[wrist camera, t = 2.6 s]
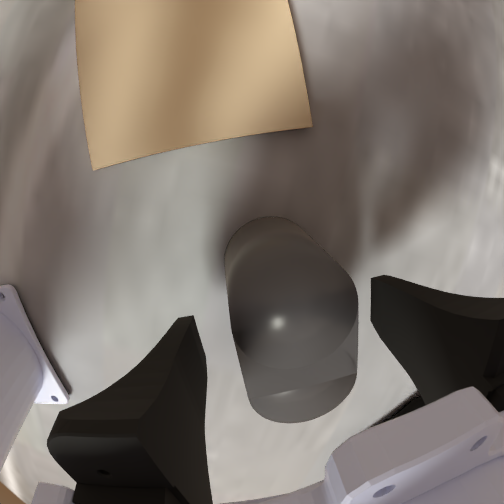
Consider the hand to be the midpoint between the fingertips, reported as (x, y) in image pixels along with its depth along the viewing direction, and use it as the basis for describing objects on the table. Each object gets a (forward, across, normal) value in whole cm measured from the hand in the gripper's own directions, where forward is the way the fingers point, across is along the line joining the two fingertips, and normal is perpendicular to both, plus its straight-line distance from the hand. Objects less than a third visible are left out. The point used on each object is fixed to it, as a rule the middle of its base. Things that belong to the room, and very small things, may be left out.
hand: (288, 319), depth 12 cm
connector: (+3, 0, 0) cm, 3 cm away
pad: (+3, +2, -12) cm, 12 cm away
